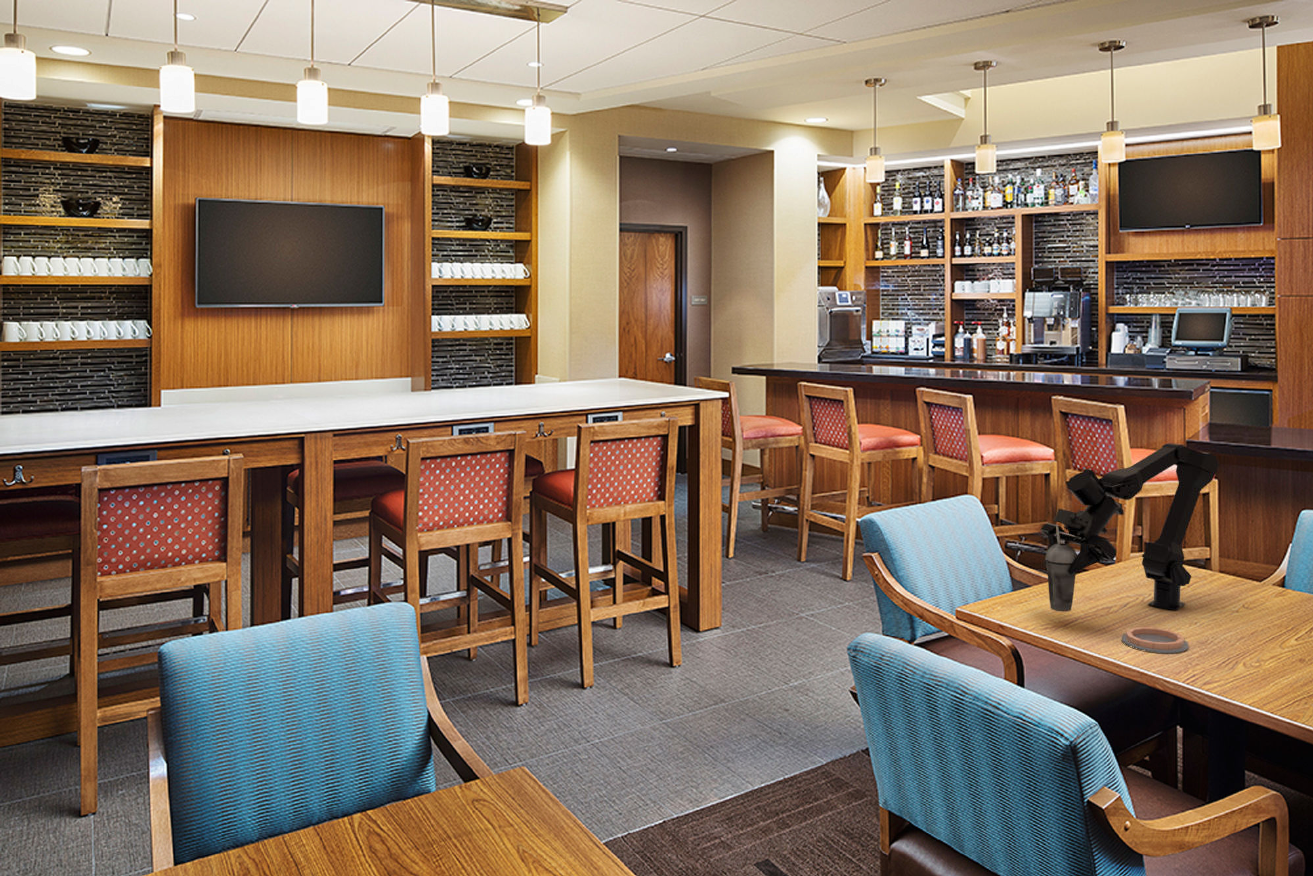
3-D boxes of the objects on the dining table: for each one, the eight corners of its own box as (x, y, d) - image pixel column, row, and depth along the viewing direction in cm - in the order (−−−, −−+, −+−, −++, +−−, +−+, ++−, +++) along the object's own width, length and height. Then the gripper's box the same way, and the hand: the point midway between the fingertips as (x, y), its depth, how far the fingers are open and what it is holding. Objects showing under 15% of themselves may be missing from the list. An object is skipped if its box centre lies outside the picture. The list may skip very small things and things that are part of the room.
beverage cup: (1081, 613, 217) (1083, 528, 215) (1048, 613, 218) (1050, 528, 216) (1072, 603, 225) (1074, 521, 222) (1040, 603, 226) (1041, 521, 223)
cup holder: (1133, 629, 216) (1134, 622, 216) (1196, 642, 207) (1197, 634, 207) (1112, 644, 207) (1112, 636, 207) (1176, 658, 198) (1177, 650, 198)
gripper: (1047, 489, 228) (1009, 539, 226) (1107, 503, 211) (1067, 557, 209) (1072, 518, 232) (1035, 567, 230) (1134, 533, 214) (1095, 587, 212)
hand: (1057, 569), depth 220 cm, fingers closed on beverage cup, 7 cm apart
